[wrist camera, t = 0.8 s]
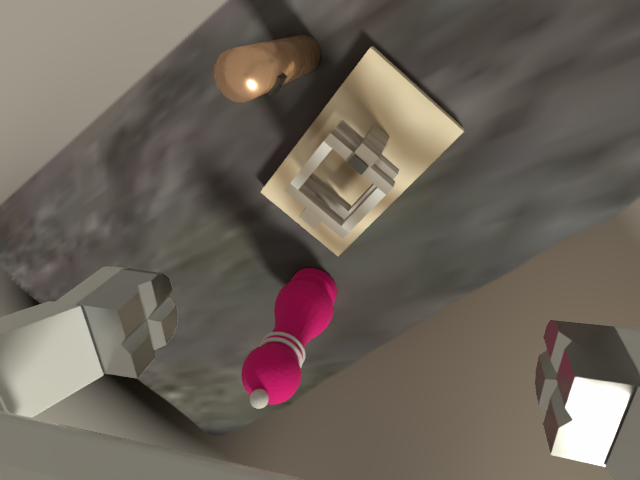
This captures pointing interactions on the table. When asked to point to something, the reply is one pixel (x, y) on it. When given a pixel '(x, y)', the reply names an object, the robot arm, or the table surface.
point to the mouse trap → (361, 153)
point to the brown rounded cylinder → (265, 66)
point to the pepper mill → (289, 337)
